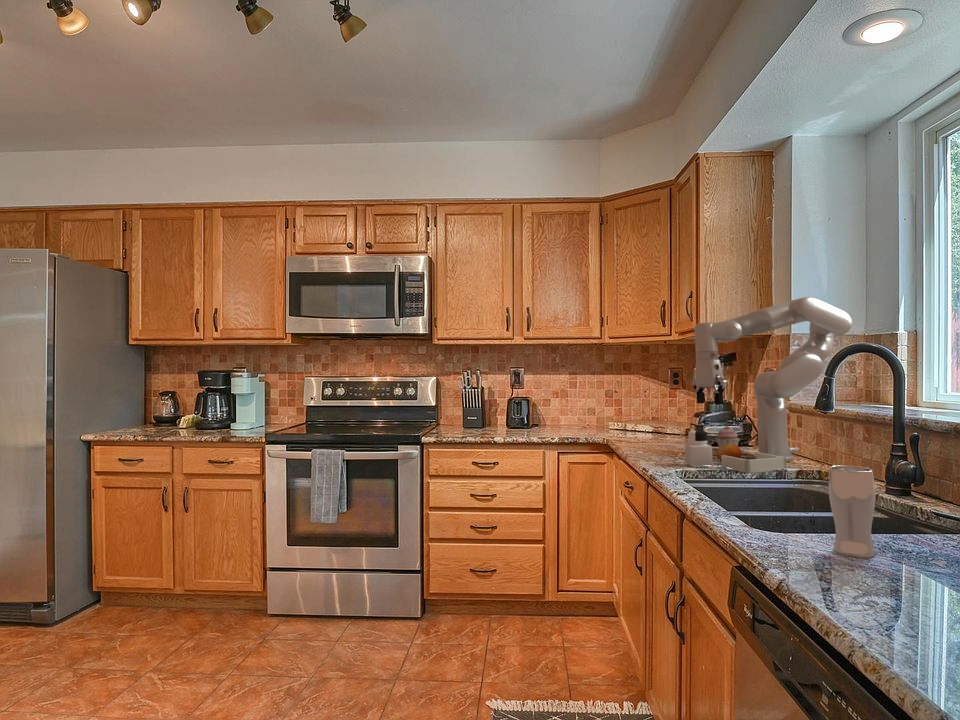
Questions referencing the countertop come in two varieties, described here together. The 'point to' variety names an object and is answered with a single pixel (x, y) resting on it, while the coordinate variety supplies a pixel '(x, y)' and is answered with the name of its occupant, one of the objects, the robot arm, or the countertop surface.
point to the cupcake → (727, 437)
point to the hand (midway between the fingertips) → (709, 403)
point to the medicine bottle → (698, 449)
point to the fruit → (729, 451)
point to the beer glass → (852, 509)
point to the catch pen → (755, 463)
